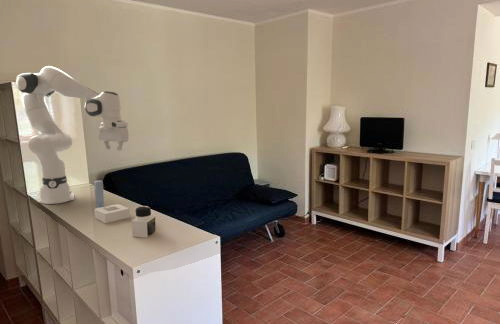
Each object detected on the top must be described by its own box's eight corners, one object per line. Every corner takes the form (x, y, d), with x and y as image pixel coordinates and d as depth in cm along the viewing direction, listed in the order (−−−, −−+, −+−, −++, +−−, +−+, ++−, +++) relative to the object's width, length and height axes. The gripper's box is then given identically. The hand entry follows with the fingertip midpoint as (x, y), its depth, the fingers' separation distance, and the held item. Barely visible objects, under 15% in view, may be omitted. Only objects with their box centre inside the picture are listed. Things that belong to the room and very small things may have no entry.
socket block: (94, 217, 168) (94, 208, 168) (118, 212, 177) (118, 203, 176) (105, 223, 160) (104, 214, 159) (129, 217, 169) (129, 208, 168)
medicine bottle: (147, 238, 142) (146, 210, 140) (132, 236, 144) (130, 209, 142) (156, 232, 149) (154, 205, 147) (140, 231, 150) (139, 204, 149)
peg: (96, 210, 179) (94, 180, 177) (104, 210, 181) (103, 180, 178) (95, 213, 176) (93, 182, 173) (104, 212, 177) (102, 181, 174)
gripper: (94, 123, 181) (96, 149, 183) (119, 124, 170) (121, 151, 172) (105, 122, 186) (106, 147, 189) (130, 123, 176) (131, 150, 178)
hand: (113, 149), depth 180 cm, fingers open, 8 cm apart
